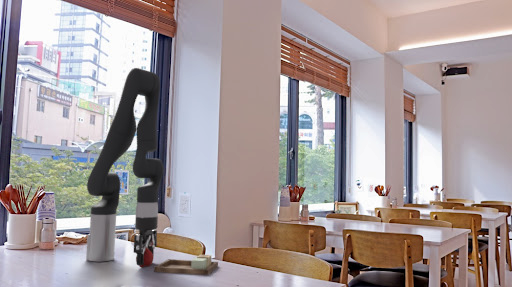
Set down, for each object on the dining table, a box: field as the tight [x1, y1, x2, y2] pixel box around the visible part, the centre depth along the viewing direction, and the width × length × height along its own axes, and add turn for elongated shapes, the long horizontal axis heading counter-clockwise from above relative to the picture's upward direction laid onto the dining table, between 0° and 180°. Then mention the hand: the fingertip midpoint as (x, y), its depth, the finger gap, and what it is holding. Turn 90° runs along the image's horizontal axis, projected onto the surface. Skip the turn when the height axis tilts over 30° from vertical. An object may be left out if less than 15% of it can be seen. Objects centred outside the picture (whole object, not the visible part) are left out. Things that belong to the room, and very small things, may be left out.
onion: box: [135, 248, 154, 269], centre depth 150 cm, size 6×6×8 cm
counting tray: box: [153, 258, 219, 276], centre depth 146 cm, size 18×13×3 cm
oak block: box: [196, 254, 212, 269], centre depth 148 cm, size 4×4×4 cm
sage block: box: [191, 257, 207, 269], centre depth 142 cm, size 4×4×4 cm
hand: (145, 262), depth 150 cm, fingers open, 8 cm apart
